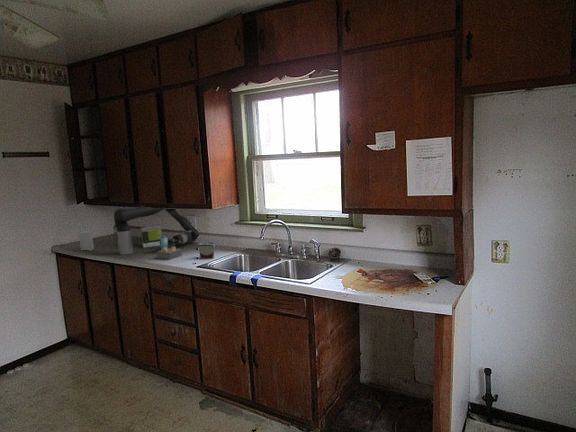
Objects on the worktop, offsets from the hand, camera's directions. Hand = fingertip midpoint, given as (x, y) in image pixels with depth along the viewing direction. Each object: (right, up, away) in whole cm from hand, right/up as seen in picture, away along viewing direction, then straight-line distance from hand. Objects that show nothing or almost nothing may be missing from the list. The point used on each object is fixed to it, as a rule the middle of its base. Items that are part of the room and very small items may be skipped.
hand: (164, 243), depth 288 cm
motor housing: (+9, -8, -15) cm, 19 cm away
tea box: (-18, -4, +28) cm, 33 cm away
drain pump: (0, -6, +1) cm, 7 cm away
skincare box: (-68, -7, +22) cm, 72 cm away
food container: (+37, -8, -21) cm, 44 cm away
